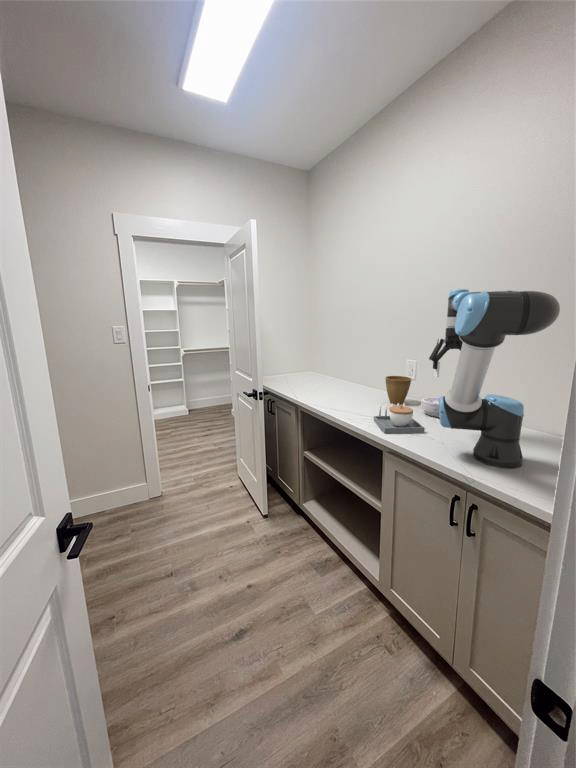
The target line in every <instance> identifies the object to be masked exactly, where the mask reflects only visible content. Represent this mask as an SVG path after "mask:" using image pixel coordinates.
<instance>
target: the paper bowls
mask: <svg viewBox="0 0 576 768" xmlns="http://www.w3.org/2000/svg"><path fill="white" fill-rule="evenodd" d="M439 398H440V397H424V398H423V397H422V399H421V401H420V402H421V403H420V409H422V410H423V411H424V412H425V414H426V415H428V416H431V417H435V418H436V417H437V418H440V415H439Z"/></svg>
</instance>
